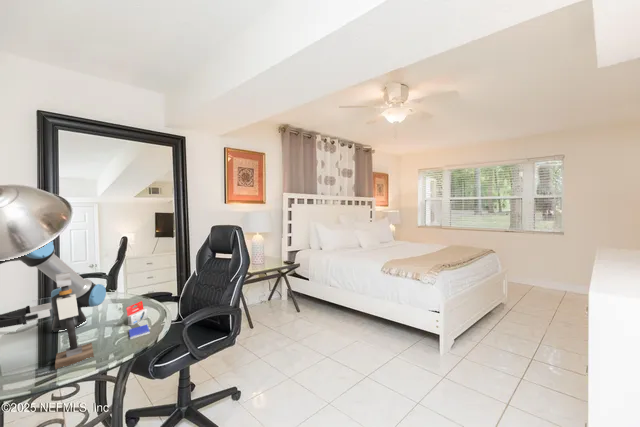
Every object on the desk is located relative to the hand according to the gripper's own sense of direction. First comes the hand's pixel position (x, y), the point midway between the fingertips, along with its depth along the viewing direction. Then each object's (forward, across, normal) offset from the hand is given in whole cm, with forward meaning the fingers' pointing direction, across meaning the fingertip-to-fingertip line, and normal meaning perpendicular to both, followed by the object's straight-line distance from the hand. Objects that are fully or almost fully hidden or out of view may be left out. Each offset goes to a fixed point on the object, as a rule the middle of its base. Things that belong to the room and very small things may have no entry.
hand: (50, 308), depth 121 cm
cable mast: (+5, 0, -23) cm, 23 cm away
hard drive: (+30, -7, -24) cm, 38 cm away
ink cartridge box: (+32, -26, -23) cm, 48 cm away
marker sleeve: (+5, 0, -5) cm, 7 cm away
